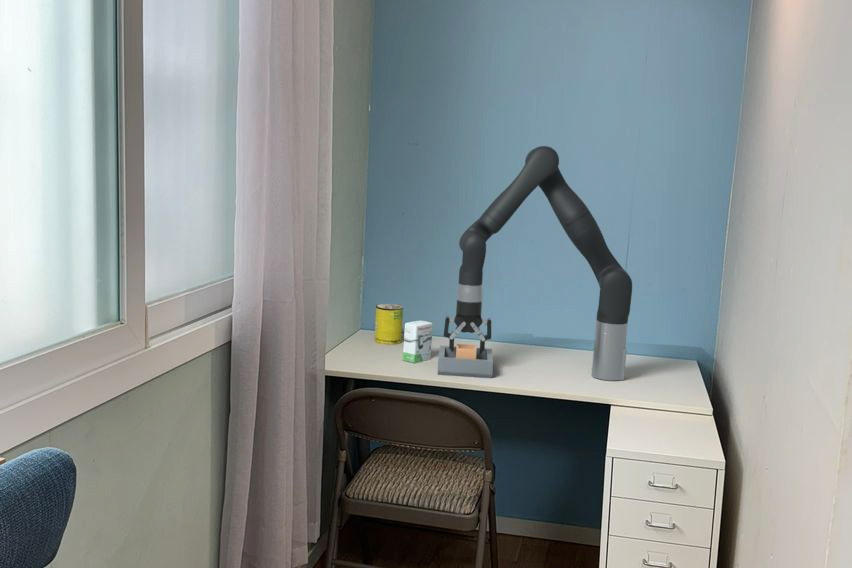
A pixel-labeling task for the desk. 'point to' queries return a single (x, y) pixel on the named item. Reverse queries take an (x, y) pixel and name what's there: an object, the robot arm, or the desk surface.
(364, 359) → the desk surface
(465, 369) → the big crate
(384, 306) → the yellow tin can
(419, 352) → the ink box
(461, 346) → the box
